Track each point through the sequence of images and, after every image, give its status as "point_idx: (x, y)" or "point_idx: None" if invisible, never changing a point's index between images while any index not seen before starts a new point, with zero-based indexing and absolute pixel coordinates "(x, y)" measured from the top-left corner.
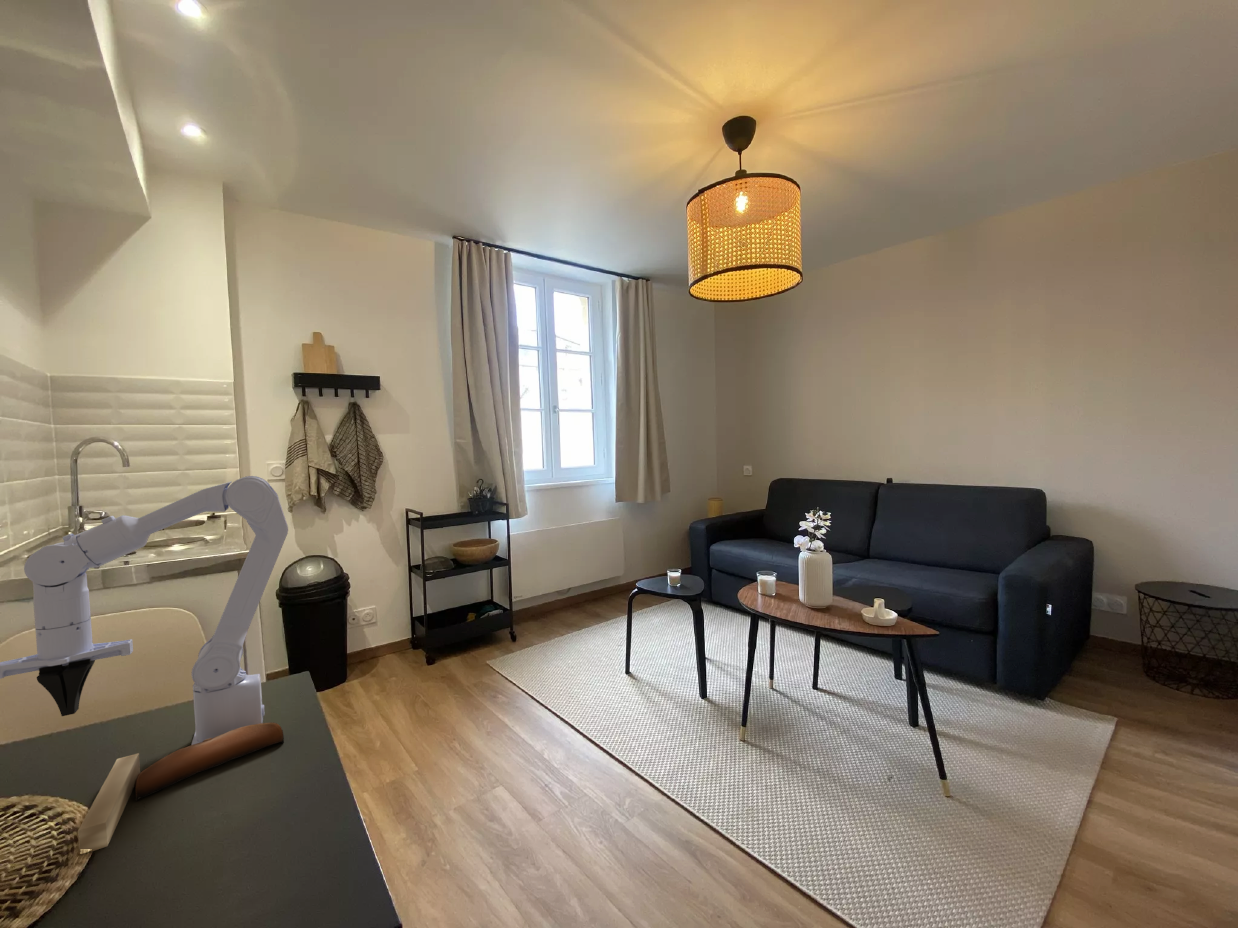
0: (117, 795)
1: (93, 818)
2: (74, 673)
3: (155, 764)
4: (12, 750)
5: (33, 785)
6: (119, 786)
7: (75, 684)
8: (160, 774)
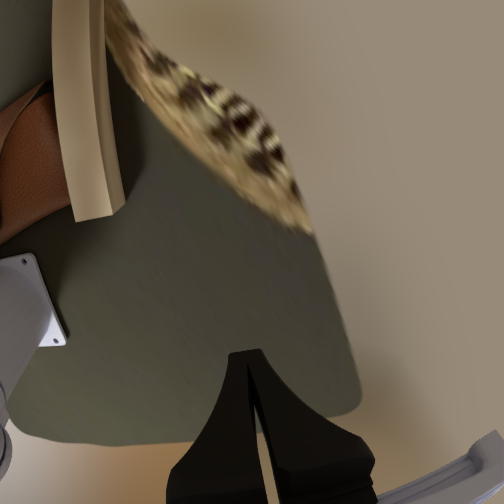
0: (53, 26)
1: None
2: (208, 472)
3: (11, 121)
4: (361, 395)
5: (291, 261)
6: (58, 61)
7: (216, 430)
8: (11, 106)
